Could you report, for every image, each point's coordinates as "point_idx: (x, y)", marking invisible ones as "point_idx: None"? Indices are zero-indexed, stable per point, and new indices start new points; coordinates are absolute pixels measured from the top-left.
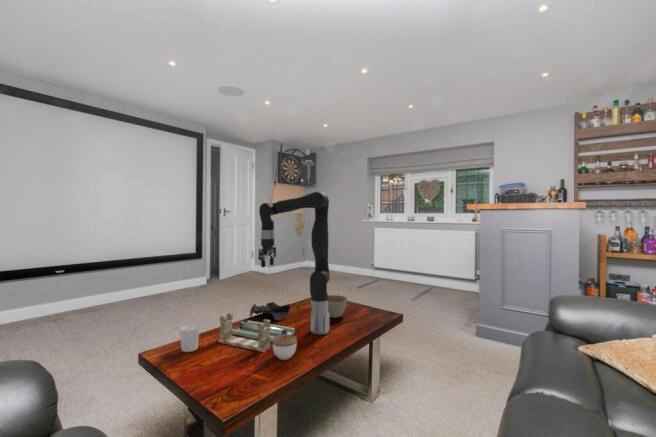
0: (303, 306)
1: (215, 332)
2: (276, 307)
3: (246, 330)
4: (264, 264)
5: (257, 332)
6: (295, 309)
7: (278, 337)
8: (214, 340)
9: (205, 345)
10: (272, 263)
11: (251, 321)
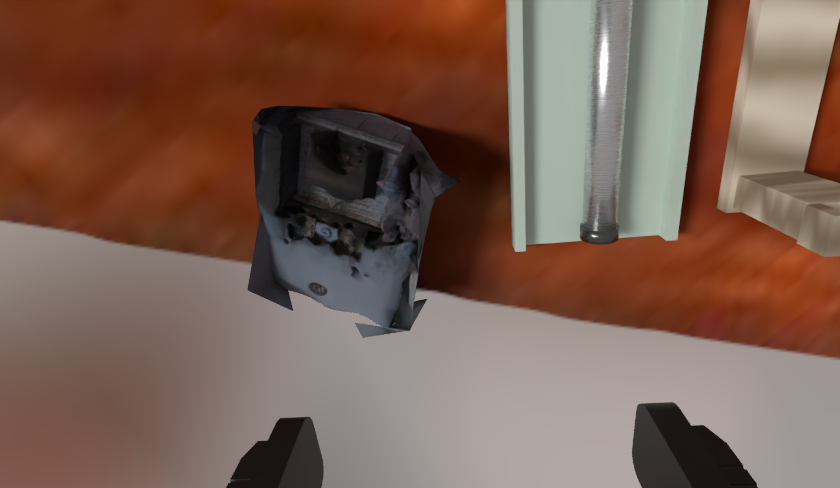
0: (66, 158)
1: (669, 305)
2: (292, 220)
3: None
4: (710, 452)
5: None
6: (148, 168)
7: None
8: (763, 238)
9: None
10: (300, 451)
11: (520, 226)
